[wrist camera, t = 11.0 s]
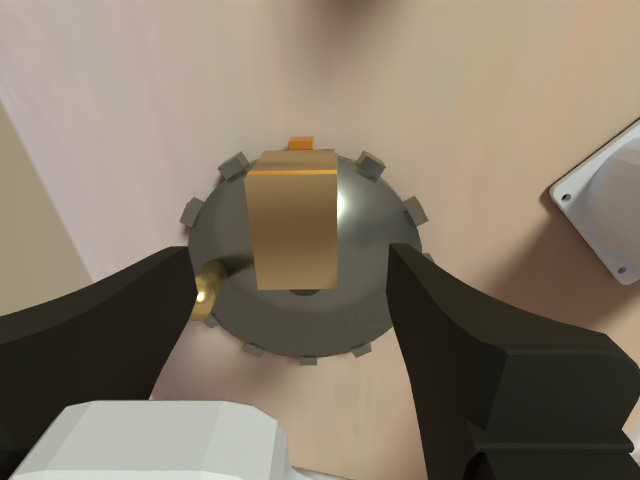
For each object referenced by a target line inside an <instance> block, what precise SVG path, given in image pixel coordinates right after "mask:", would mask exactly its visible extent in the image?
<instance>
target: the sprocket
mask: <svg viewBox="0 0 640 480" xmlns="http://www.w3.org/2000/svg"><path fill="white" fill-rule="evenodd" d="M288 145H289V150H313V137H290V139H289V141H288ZM258 160H259V159H257V160H254V161H252V162H250V163H249V162H248V161H247V159H246V158H245V156H244V155H243V153H242V152H239V153H238V154H236V155H235V156H233V157H232V158H230V159H228V160H227V161H225V162H224V163H223V164H222V165H220V166H219V167H218V170H219V171H220V172H221V174H222V175H223V176H224V178H225V180H224V181H223V182H222V183H221V184H220V185H219V186H218V187H217V188H216V189H215V190H214V191H213V192H212V193H211V194H210V196H209V197H208V198H207V200H206V201H205V202H203V201H201V200H199V199H197V198H195V197H194V198H193V199H192V200H191V201H190V202H189V203H188V204H187V205H186V207H185V210H184V212H183V214H182V217H181V219H180V222H181V223H183V224H185V225H187V226H189V227H191V228H192V229H191V232H190V237H189V243H188V250H189V254H190V259H191V263H192V268H193V272H194V277H195V281H196V285H197V290H198V296H197V299H196V302H195V305H194V308H193V310H192V313H191V316H190V318H189V319H190V320H195V321H200V320H204V321H205V322H206V323H207V324H208V326H209V327H210V328H213V327H215V326H217V325H219V324H220V325H221V326H223V327H224V328H225V329H226V330H228V331H229V332H230V333H231V334H233V335H234V336H236V337H237V338H239V339H241V340H242V341H244V342H246V343H247V344H246V347H245V351H246V352H248V353H251V354H253V355H256V356H258V357H261V355H262V354H263V352H264V351H267V352H271V353H275V354H279V355H283V356H290V357H299V359H300V365H317V358H318V357H327V356H334V355H338V354H342V353H346V352H349V351H352V353H353V354H354V356H355V357H356V358H357V357H359V356H362V355H364V354H366V353H369V352H371V351H372V350H371V344H370V342H372V341H374V340H375V339H377V338H378V337H380V336H381V335H383V334H384V333H385V332H386V331H388V330H389V329H390V328H391V327H392V326H393V324H392V321H391V317H390V313H389V308H388V302H387V296H386V282H387V269H388V255H389V243H407V244H409V245H410V246H412V247H413V248H415V249H416V250H417V251H419V252H420V253H421V254H422V255H424V256H425V257H426V258H428V259H429V260H430V261H432V262H433V263H434V261H433V259H432V257H431V255H430V254H429V253H422V246H421V241H420V237H419V233H418V230H417V228H416V227H417V226H419V225H421V224H423V223H425V222H427V221H428V219H427V217H426V215H425V213H424V211H423V209H422V207H421V205H420V203H419V201H418V200H417V198H416V197H415V196H414V197H412V198H410V199H408V200H406V201H404V202H403V201H402V200H401V198H400V197H399V196H398V194H397V193H396V192H395V191H394V190H393V188H392V187H391V186H390V185H389V184H388V183H387V182H385V181H384V180H383V179H382V178H381V177H380V175H381V173H382V172H383V170H384V169H385V165H384V163H383V162H382V161H381V160H379V159H377V158H376V157H374V156H372V155H371V154H369V153H367V152H365V151H363V152H362V154H361V156H360V157H359V159H358V161H357V162H355V161H353V160H351V159H348V158H345V157H342V156H339V155H338V153H335V162H336V170H337V289H293V290H258V286H257V279H256V271H255V263H254V255H253V247H252V239H251V232H250V224H249V216H248V208H247V200H246V192H245V185H244V179H245V177H246V175H247V173H248V172H250V171H251V169H252V168H253V166H254V165H255V164H256V162H257V161H258Z"/></svg>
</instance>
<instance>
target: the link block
mask: <svg viewBox="0 0 640 480" xmlns="http://www.w3.org/2000/svg"><path fill="white" fill-rule="evenodd" d="M244 185H245V192H246V200H247V208H248V216H249V224H250V232H251V239H252V247H253V255H254V263H255V271H256V279H257V286H258V290H293V289H337V170H336V162H335V152H334V149H325V150H279V151H264V153H263V154H262V156H261V157H260V158H259V160H258V161H257V162H256V164H255V165H254V166H253V168H252V169H251V171H250V172H248V173H247V175H246V177H245V179H244Z"/></svg>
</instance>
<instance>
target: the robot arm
mask: <svg viewBox="0 0 640 480" xmlns="http://www.w3.org/2000/svg"><path fill="white" fill-rule="evenodd" d="M565 194H567V196H566V198H565V199H563V200H561V199H562V197H563V196H564V195H565ZM549 195H550V197H551V198H552V199H553V200H554V202H555V203H556V204H557V205H558V207H559V208H560V209H561V210H562V212H563V213H564V214H565V216H566V217H567V218H568V219H569V221H570V222H571V223H572V224H573V226H574V227H575V228H576V229H577V231H578V232H579V233H580V234H581V236H582V237H583V238H584V239H585V241H586V242H587V243H588V244H589V246H590V247H591V248H592V249H593V251H594V252H595V253H596V254H597V256H598V257H599V258H600V260H601V261H602V262H603V263H604V265H605V266H606V267H607V268H608V270H609V271H610V272H611V273H612V275H613V276H614V277H615V278H616V280H617V281H618V282H620V283H621V284H622V285H630V284H632V283H634V282H636V281H637V280H639V279H640V119H639V120H638V121H637V122H636V123H634V124H633V125H632V126H630V127H629V128H628V129H626V130H625V131H624V132H622V133H621V134H620V135H618V136H617V137H616V138H614V139H613V140H612V141H611V142H609V143H608V144H607V145H605V146H604V147H603V148H601V149H600V150H599V151H597V152H596V153H595V154H593V155H592V156H591V157H589V158H588V159H587V160H586V161H584V162H583V163H582V164H580V165H579V166H578V167H576V168H575V169H574V170H572V171H571V172H570V173H568V174H567V175H566V176H564V177H563V178H562V179H561V180H559V181H558V182H557V183H555V184H554V185H553V186H552V187H551V188H550V190H549ZM619 268H620V269H619ZM618 269H619V270H618ZM197 296H198V290H197V285H196V281H195V277H194V272H193V268H192V263H191V259H190V254H189V250H188V246H172V247H168V248H165V249H163V250H161V251H159V252H156V253H154V254H152V255H150V256H148V257H146V258H144V259H143V260H141V261H139V262H137V263H135V264H133V265H131V266H129V267H127V268H125V269H123V270H121V271H119V272H117V273H115V274H113V275H111V276H109V277H106V278H104V279H102V280H100V281H98V282H96V283H94V284H92V285H90V286H88V287H85V288H82V289H80V290H78V291H75V292H73V293H70V294H67V295H65V296H62V297H60V298H57V299H54V300H52V301H48V302H45V303H42V304H39V305H36V306H33V307H30V308H27V309H24V310H21V311H18V312H14V313H11V314H7V315H4V316H0V480H354V479H349V478H345V477H340V476H336V475H331V474H326V473H322V472H317V471H313V470H308V469H304V468H299V467H294V466H291V463H290V460H289V453H288V443H287V438H286V436H285V434H284V433H283V431H282V429H281V427H280V425H279V423H278V421H277V420H276V419H275V418H273V417H272V416H270V415H268V414H267V413H265V412H264V411H262V410H260V409H259V408H257V407H255V406H254V405H251V404H246V403H240V402H234V401H229V400H149V397H150V395H151V393H152V390H153V388H154V385H155V383H156V380H157V378H158V376H159V374H160V372H161V370H162V368H163V366H164V364H165V363H166V361H167V359H168V357H169V355H170V353H171V351H172V350H173V348H174V346H175V344H176V342H177V341H178V339H179V337H180V335H181V333H182V331H183V329H184V327H185V326H186V324H187V322H188V320H189V318H190V316H191V313H192V310H193V308H194V305H195V302H196V299H197ZM386 296H387V302H388V308H389V313H390V317H391V321H392V324H393V327H394V330H395V333H396V336H397V339H398V343H399V346H400V349H401V352H402V355H403V358H404V361H405V364H406V368H407V371H408V375H409V379H410V383H411V388H412V393H413V398H414V403H415V408H416V413H417V419H418V424H419V429H420V435H421V440H422V446H423V452H424V458H425V464H426V469H427V475H428V480H640V467H639V466H638V464H637V463H636V462H635V460H634V459H633V458H632V457H631V455H630V454H629V453H632V452H633V450H634V445H633V443H632V442H631V440H630V439H629V438H628V437H627V435H626V434H625V433H624V432H623V431H622V427H623V425H624V424H625V422H626V420H627V418H628V417H629V415H630V413H631V411H632V410H633V408H634V406H635V404H636V403H637V401H638V399H639V396H640V369H639V367H638V365H637V364H636V363H635V362H634V361H633V360H632V359H631V358H630V357H629V356H628V355H627V354H626V353H625V352H624V351H623V350H622V349H621V348H620V347H619V346H618V345H617V344H616V343H615V342H614V341H613V340H611V339H610V338H609V337H608V336H607V335H606V334H604V333H600V332H596V331H592V330H588V329H584V328H580V327H576V326H572V325H568V324H565V323H561V322H557V321H554V320H551V319H548V318H545V317H542V316H539V315H535V314H533V313H530V312H527V311H524V310H521V309H519V308H516V307H514V306H511V305H509V304H506V303H504V302H502V301H499V300H497V299H495V298H492V297H490V296H488V295H486V294H484V293H482V292H480V291H478V290H476V289H474V288H472V287H471V286H469V285H467V284H465V283H463V282H462V281H460V280H459V279H457V278H455V277H454V276H452V275H451V274H449V273H448V272H446V271H445V270H443V269H442V268H440V267H439V266H437V265H436V264H435V263H433V262H432V261H430V260H429V259H428V258H426V257H425V256H424V255H422V254H421V253H420V252H419V251H417V250H416V249H415V248H413V247H412V246H410V245H409V244H407V243H389V255H388V269H387V282H386Z"/></svg>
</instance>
